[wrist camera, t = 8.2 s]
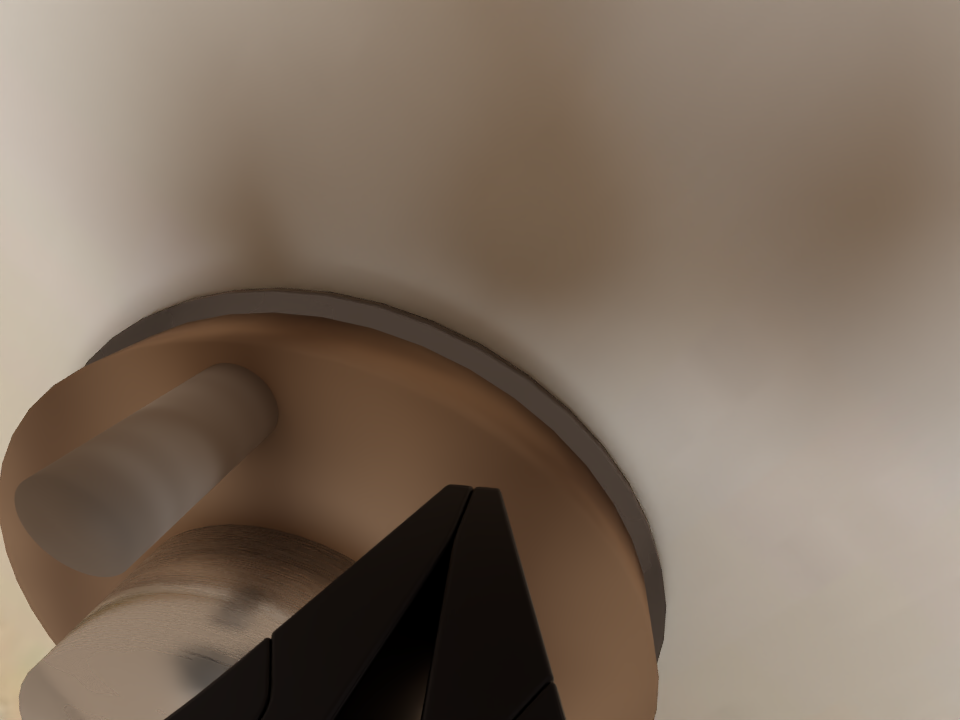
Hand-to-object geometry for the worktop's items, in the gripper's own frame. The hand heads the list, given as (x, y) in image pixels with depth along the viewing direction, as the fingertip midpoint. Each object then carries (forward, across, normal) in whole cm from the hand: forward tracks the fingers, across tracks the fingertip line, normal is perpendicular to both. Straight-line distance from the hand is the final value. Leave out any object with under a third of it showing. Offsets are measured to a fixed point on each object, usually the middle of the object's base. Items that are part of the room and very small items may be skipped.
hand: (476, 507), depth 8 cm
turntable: (+5, +6, +8) cm, 11 cm away
